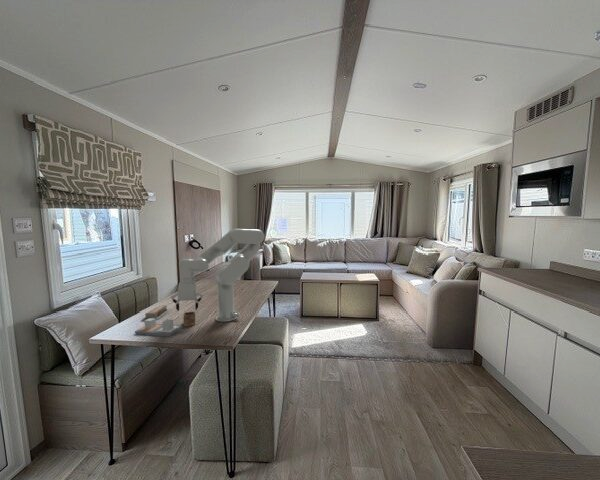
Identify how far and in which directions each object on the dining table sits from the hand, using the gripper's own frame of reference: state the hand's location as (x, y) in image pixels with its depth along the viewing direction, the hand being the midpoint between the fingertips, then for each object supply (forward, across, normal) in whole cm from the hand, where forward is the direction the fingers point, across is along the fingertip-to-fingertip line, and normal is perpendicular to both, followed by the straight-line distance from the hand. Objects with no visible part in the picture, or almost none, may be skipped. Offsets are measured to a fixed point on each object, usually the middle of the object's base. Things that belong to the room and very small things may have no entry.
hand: (187, 309), depth 169 cm
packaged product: (+10, +19, -24) cm, 32 cm away
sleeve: (+8, -1, 0) cm, 8 cm away
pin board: (+9, +14, +6) cm, 17 cm away
